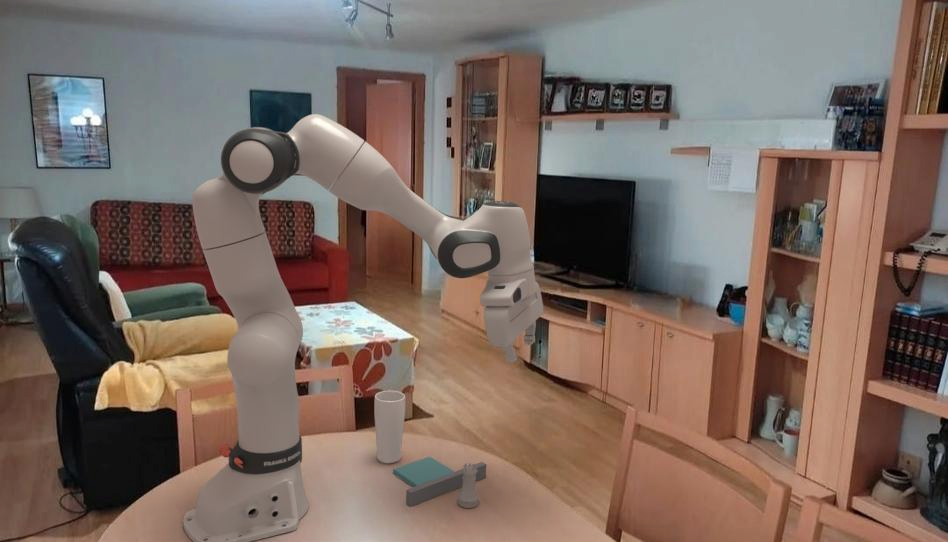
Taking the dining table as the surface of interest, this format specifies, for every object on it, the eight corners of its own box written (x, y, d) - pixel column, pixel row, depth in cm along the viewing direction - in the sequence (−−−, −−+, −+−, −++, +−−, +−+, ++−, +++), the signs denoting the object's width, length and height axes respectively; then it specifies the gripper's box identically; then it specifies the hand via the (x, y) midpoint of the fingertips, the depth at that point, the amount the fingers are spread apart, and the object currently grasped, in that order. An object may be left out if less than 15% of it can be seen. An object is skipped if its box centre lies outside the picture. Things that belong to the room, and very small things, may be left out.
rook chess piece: (476, 510, 136) (478, 473, 134) (454, 507, 137) (456, 469, 135) (481, 499, 140) (482, 462, 139) (459, 496, 141) (461, 459, 140)
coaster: (420, 492, 142) (420, 487, 142) (392, 473, 149) (392, 468, 149) (458, 478, 148) (458, 473, 148) (429, 460, 156) (429, 456, 156)
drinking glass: (371, 453, 158) (372, 391, 155) (400, 450, 160) (402, 389, 157) (376, 467, 151) (377, 402, 148) (406, 464, 153) (408, 400, 150)
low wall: (410, 506, 136) (410, 492, 136) (405, 503, 137) (406, 489, 137) (485, 477, 149) (486, 464, 149) (481, 474, 150) (481, 461, 150)
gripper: (517, 270, 143) (525, 333, 146) (475, 300, 125) (485, 371, 129) (546, 269, 140) (554, 334, 143) (507, 300, 123) (517, 373, 126)
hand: (521, 352), depth 136 cm, fingers open, 8 cm apart
